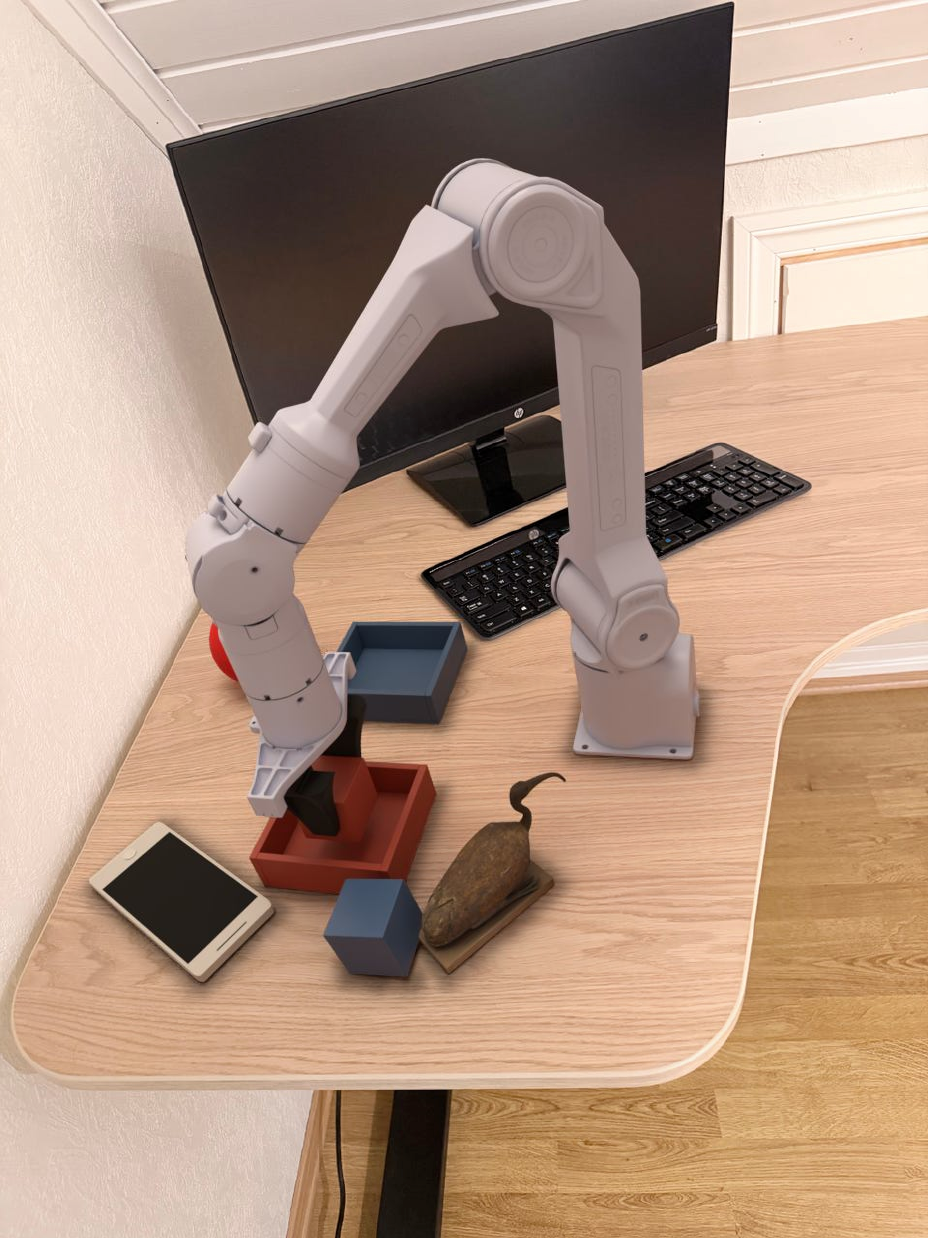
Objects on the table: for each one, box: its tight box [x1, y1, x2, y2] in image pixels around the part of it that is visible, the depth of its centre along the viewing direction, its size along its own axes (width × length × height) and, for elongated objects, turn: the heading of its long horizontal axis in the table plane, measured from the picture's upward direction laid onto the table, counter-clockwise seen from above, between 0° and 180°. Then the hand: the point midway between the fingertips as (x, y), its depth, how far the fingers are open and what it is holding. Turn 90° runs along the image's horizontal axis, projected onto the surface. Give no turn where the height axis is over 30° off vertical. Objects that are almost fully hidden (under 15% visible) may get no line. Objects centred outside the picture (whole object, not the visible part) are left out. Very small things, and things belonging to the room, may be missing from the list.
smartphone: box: [88, 821, 275, 983], centre depth 70 cm, size 7×16×1 cm, turn 50°
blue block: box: [322, 879, 424, 978], centre depth 62 cm, size 4×4×4 cm
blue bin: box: [336, 621, 469, 725], centre depth 85 cm, size 11×10×4 cm
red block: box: [297, 755, 378, 843], centre depth 69 cm, size 4×4×4 cm
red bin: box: [248, 760, 437, 895], centre depth 71 cm, size 11×10×4 cm
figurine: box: [419, 771, 567, 975], centre depth 63 cm, size 14×4×9 cm, turn 129°
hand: (338, 805), depth 70 cm, fingers closed on red block, 4 cm apart
